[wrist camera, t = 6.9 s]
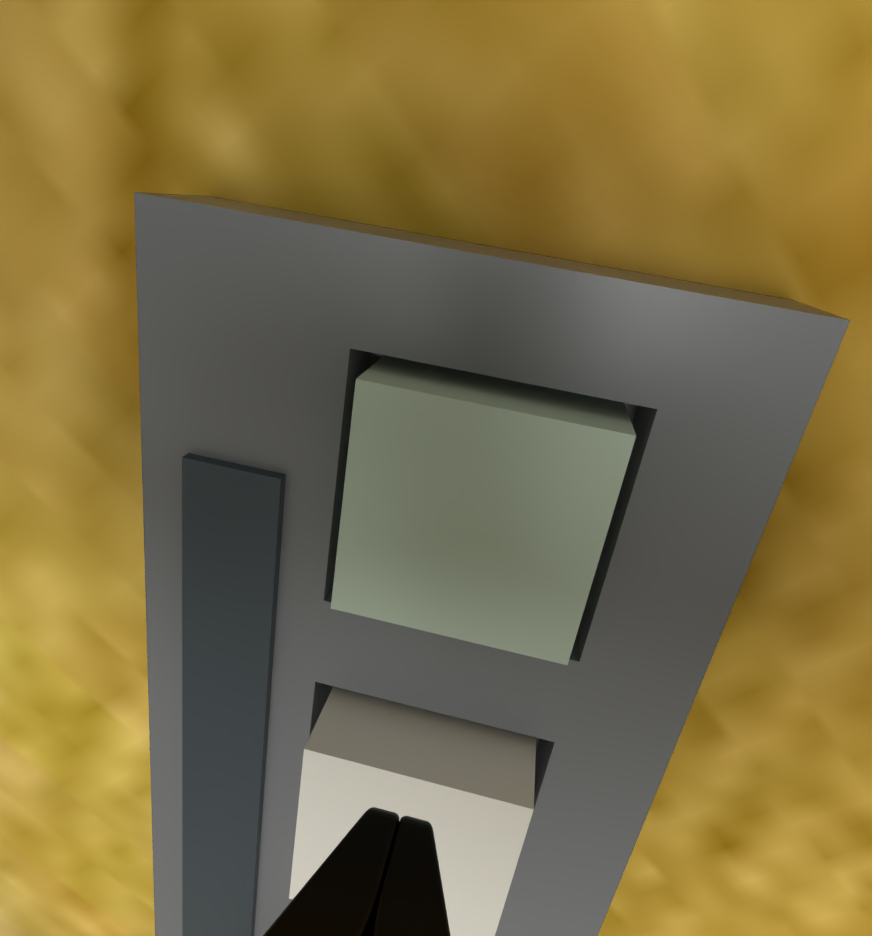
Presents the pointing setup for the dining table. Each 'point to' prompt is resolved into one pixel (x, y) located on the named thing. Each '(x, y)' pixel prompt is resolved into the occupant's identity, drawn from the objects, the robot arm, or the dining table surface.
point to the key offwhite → (420, 795)
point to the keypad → (319, 512)
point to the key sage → (477, 505)
